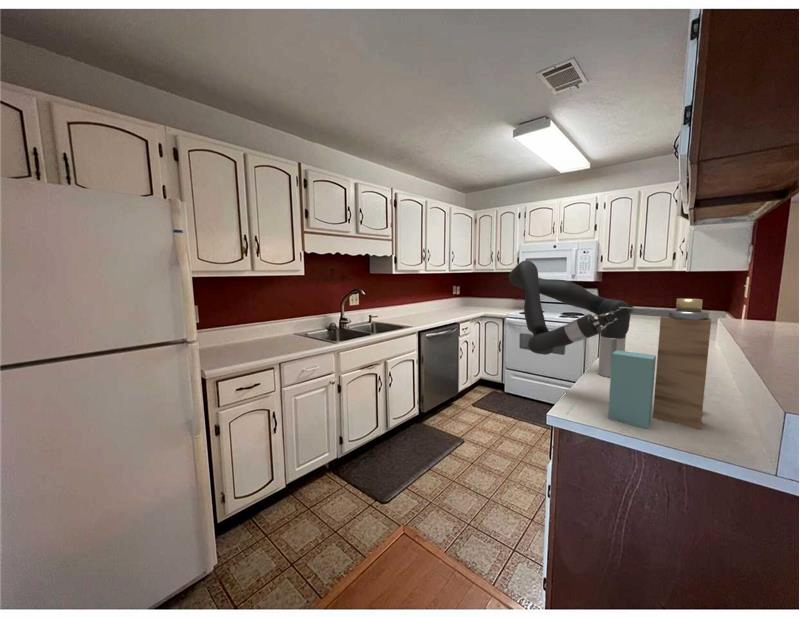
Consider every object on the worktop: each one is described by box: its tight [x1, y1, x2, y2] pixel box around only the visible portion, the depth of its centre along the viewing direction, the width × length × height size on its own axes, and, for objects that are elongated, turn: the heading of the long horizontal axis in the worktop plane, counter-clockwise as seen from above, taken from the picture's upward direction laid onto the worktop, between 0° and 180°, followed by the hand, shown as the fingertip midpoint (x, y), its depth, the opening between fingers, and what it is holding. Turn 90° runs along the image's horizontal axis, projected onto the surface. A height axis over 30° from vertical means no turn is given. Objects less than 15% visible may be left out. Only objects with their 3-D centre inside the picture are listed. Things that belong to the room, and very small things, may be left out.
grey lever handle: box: [619, 297, 711, 320], centre depth 98 cm, size 9×22×6 cm, turn 45°
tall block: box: [607, 350, 657, 430], centre depth 98 cm, size 6×10×21 cm, turn 45°
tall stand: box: [652, 317, 712, 430], centre depth 97 cm, size 6×11×32 cm, turn 45°
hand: (630, 308), depth 104 cm, fingers open, 8 cm apart
